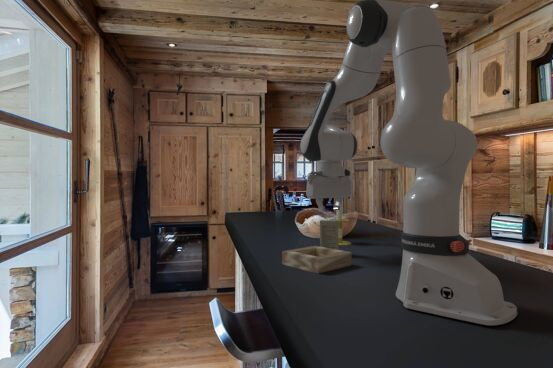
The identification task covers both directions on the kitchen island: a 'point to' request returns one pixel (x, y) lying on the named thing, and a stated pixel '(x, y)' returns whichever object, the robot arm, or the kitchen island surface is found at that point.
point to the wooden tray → (317, 259)
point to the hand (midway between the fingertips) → (329, 211)
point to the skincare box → (329, 234)
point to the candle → (340, 220)
